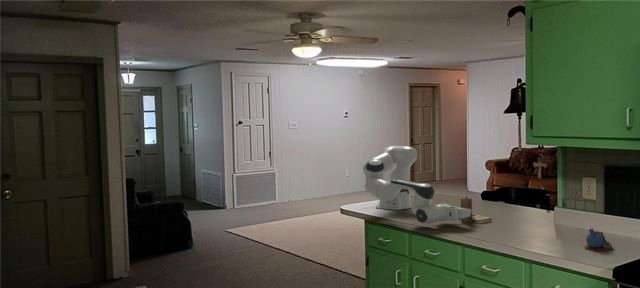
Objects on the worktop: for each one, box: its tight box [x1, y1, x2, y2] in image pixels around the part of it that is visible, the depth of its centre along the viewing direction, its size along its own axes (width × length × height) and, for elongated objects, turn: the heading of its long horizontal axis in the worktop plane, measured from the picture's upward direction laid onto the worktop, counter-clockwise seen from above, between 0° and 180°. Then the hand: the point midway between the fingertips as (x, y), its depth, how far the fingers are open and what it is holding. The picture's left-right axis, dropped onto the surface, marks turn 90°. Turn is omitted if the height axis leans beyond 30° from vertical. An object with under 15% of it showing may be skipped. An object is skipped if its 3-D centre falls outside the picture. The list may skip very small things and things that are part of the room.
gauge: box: [460, 196, 477, 225], centre depth 285 cm, size 8×4×14 cm, turn 119°
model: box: [584, 227, 614, 253], centre depth 225 cm, size 12×9×9 cm
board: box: [459, 214, 493, 225], centre depth 293 cm, size 24×9×2 cm, turn 29°
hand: (463, 209), depth 283 cm, fingers open, 8 cm apart
